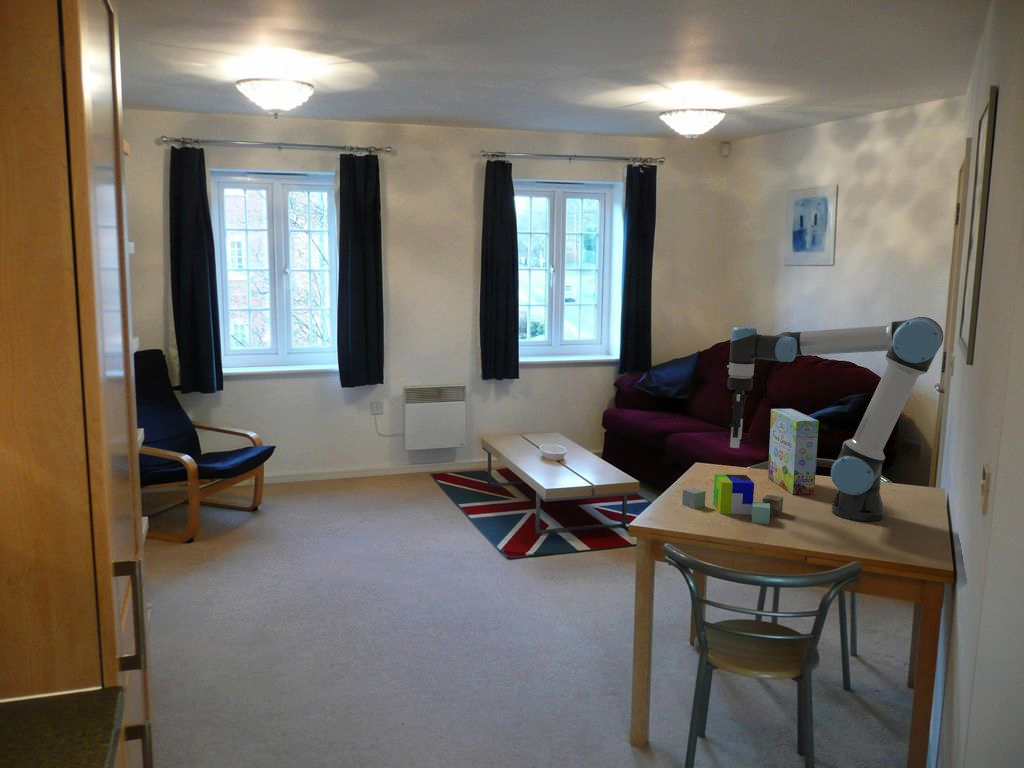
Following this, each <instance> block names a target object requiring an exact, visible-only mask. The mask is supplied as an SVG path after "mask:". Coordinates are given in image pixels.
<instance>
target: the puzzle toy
mask: <svg viewBox="0 0 1024 768" xmlns="http://www.w3.org/2000/svg"><path fill="white" fill-rule="evenodd" d="M713 481H714V482H713V483H714V484H713V496H712V497H713V500H712V505H713V506H714V508H715V509H716V511H717V512H718V513H719V514H720V515H723V514H724V515H726V514H727V515H752V505H753V502H754V494H755V482H754V481H753V480H752V479H751V478H750V477H749V476H748V475H747V474H728V473H727V474H722V473H719V474H717V473H715V474H714V480H713Z"/></svg>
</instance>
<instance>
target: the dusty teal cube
mask: <svg viewBox="0 0 1024 768" xmlns="http://www.w3.org/2000/svg"><path fill="white" fill-rule="evenodd" d="M770 516H771V515H770V503H763V502H755V501H753V505H752V514H751V523H753V524H754V523H755V524H764V525H769V524H770Z"/></svg>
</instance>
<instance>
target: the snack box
mask: <svg viewBox="0 0 1024 768" xmlns="http://www.w3.org/2000/svg"><path fill="white" fill-rule="evenodd" d="M819 424H820V420H818V419H815V418H813V417H812V416H809V415H807V414H804V413H802V412H800V411H798V410H796V409H793V408H770V425H769V426H770V429H769V431H770V432H769V451H768V467H767V468H768V471H767V479H768V480H771V481H773V483H775V484H777V485H778V486H779V487H781V488H782V489H784V490H785V491H787V492H788V493H790V495H792V496H801V495H804V496H806V495H809V496H810V495H815V487H816V473H817V472H816V470H817V457H818V456H817V455H818V453H817V452H818V441H819V440H818V439H819V426H820V425H819Z"/></svg>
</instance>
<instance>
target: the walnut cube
mask: <svg viewBox="0 0 1024 768" xmlns="http://www.w3.org/2000/svg"><path fill="white" fill-rule="evenodd" d="M762 503H770V516H773V517H779V516H780V515H781V514H782V513H783V505H784V496H777V495H774V494H766V495H765V496H764V497H762Z"/></svg>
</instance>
